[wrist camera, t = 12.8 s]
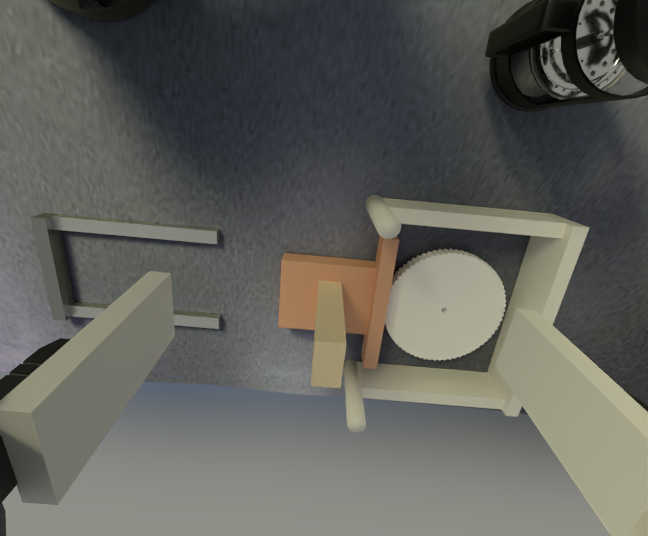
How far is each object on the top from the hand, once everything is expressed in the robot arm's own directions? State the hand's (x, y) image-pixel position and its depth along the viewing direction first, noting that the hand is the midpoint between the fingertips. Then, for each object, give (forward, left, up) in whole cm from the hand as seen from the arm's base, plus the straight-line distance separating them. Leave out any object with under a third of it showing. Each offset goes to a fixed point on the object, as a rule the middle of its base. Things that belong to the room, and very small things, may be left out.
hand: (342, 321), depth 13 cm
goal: (+17, -3, -26) cm, 32 cm away
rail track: (-15, -20, -26) cm, 36 cm away
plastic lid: (+18, -3, -27) cm, 32 cm away
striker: (+6, -9, -26) cm, 28 cm away
